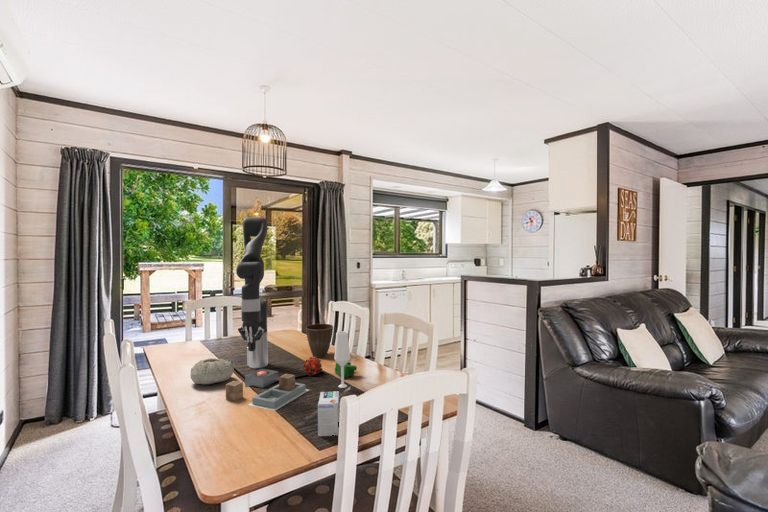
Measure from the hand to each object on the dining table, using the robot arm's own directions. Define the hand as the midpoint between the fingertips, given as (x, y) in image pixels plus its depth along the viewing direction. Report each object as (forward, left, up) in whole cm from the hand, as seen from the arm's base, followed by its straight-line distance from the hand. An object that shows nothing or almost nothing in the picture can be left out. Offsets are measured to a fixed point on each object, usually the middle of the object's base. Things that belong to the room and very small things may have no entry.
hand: (252, 350), depth 166 cm
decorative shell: (-25, +1, -18) cm, 30 cm away
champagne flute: (+33, +17, -17) cm, 41 cm away
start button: (-2, +7, -16) cm, 18 cm away
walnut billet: (0, -11, -17) cm, 20 cm away
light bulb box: (+47, -16, -18) cm, 53 cm away
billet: (+16, +2, -16) cm, 23 cm away
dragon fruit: (+11, +27, -17) cm, 34 cm away
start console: (-2, +7, -17) cm, 19 cm away
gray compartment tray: (+16, -3, -17) cm, 24 cm away
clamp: (+26, +33, -18) cm, 46 cm away
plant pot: (-3, +54, -17) cm, 57 cm away
